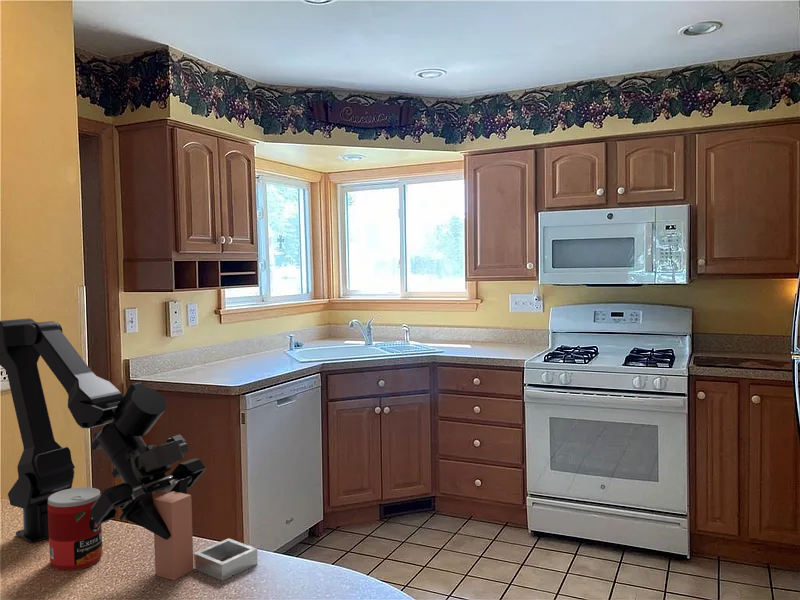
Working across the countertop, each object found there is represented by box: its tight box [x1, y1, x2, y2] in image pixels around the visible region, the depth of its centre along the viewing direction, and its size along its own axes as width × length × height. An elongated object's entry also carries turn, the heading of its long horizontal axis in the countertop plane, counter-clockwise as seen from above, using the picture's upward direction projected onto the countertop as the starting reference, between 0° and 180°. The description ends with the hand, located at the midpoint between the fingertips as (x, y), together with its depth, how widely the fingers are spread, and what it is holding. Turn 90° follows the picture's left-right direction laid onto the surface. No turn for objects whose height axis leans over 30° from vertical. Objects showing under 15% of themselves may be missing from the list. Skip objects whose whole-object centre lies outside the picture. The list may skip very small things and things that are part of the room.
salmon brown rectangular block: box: [153, 491, 194, 581], centre depth 103 cm, size 4×4×12 cm
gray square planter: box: [193, 538, 258, 581], centre depth 105 cm, size 7×7×2 cm
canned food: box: [48, 486, 103, 571], centre depth 107 cm, size 8×8×11 cm
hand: (179, 532), depth 102 cm, fingers closed on salmon brown rectangular block, 4 cm apart
